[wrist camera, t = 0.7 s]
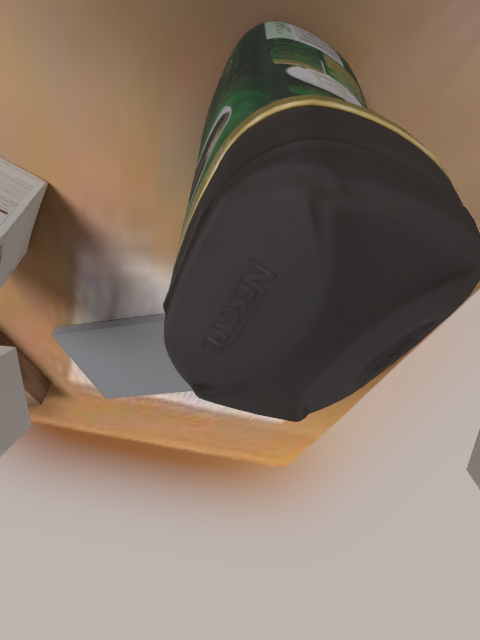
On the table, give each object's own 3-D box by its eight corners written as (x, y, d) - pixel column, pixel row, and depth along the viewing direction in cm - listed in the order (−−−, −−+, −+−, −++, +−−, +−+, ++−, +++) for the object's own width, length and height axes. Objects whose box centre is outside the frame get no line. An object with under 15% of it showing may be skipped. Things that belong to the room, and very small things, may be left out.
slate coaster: (55, 327, 36) (51, 334, 36) (168, 313, 35) (166, 320, 34) (108, 391, 45) (105, 398, 44) (201, 382, 43) (200, 390, 42)
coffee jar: (290, 210, 27) (331, 456, 14) (189, 166, 24) (122, 411, 12) (377, 66, 20) (604, 277, 7) (249, -11, 18) (252, 97, 5)
